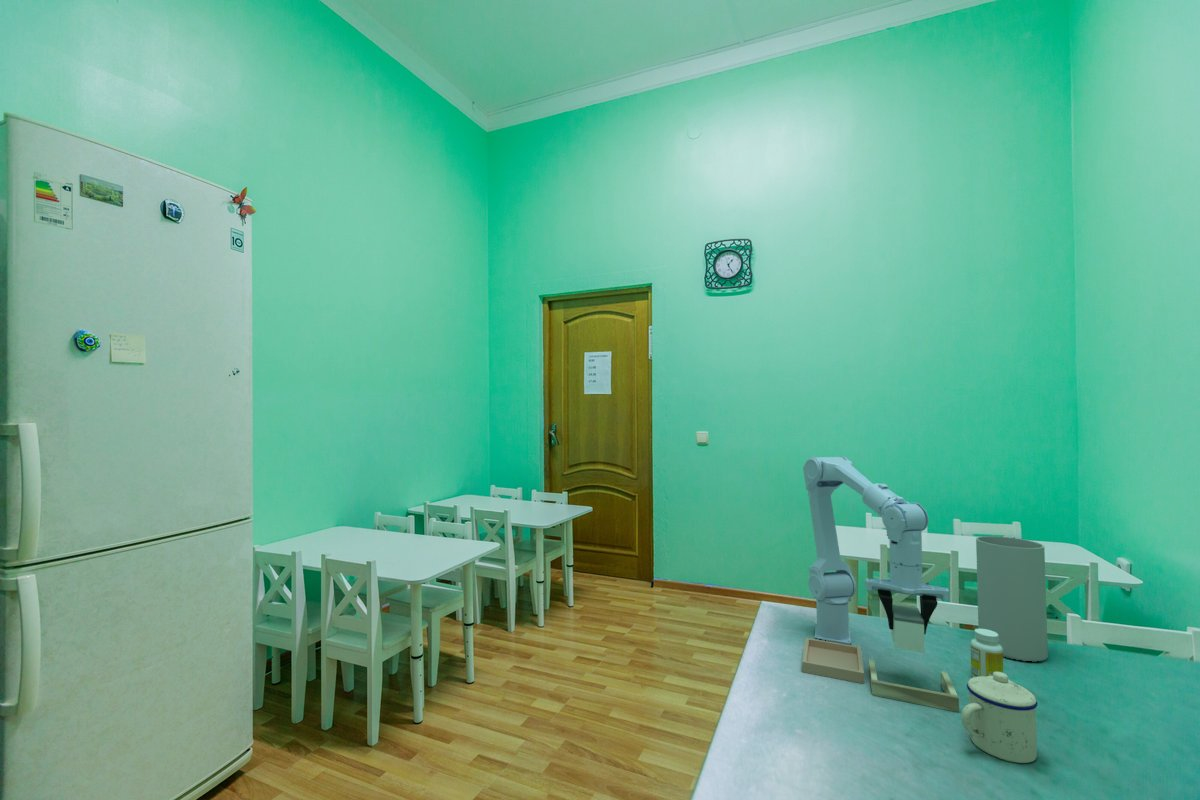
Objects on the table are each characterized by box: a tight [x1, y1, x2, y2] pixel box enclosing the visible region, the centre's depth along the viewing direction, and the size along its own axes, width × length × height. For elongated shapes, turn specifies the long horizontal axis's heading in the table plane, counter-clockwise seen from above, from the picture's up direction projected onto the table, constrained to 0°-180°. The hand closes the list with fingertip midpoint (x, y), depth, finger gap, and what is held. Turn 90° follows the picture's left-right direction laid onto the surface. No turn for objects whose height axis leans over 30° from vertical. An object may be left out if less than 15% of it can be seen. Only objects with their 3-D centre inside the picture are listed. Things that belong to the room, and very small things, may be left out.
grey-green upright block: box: [890, 604, 925, 654], centre depth 105 cm, size 8×5×6 cm, turn 155°
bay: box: [868, 658, 960, 713], centre depth 102 cm, size 11×14×2 cm
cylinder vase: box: [975, 535, 1049, 663], centre depth 120 cm, size 12×12×25 cm
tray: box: [801, 637, 865, 685], centre depth 112 cm, size 14×12×2 cm
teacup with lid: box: [960, 672, 1038, 764], centre depth 84 cm, size 12×9×12 cm
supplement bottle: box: [970, 628, 1004, 678], centre depth 106 cm, size 5×5×10 cm
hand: (906, 630), depth 105 cm, fingers closed on grey-green upright block, 5 cm apart
